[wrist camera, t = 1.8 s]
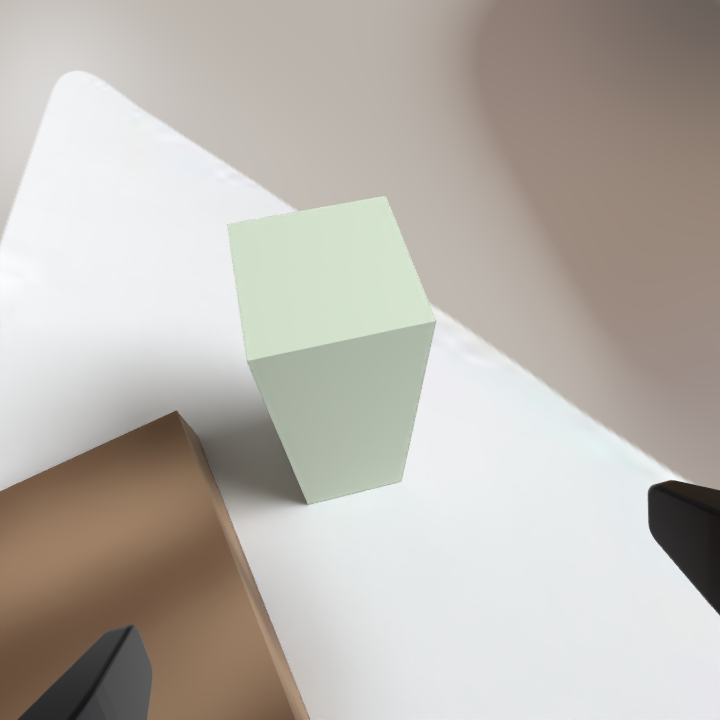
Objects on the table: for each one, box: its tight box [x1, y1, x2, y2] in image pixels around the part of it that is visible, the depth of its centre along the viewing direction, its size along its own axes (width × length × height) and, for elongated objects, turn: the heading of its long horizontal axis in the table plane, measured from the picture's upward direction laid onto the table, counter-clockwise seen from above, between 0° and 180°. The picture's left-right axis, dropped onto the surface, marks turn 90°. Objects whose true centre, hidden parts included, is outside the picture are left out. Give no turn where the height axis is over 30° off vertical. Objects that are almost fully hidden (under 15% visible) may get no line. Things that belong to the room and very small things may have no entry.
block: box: [227, 196, 436, 505], centre depth 18 cm, size 4×4×13 cm
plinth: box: [0, 411, 310, 720], centre depth 18 cm, size 14×9×3 cm, turn 29°
